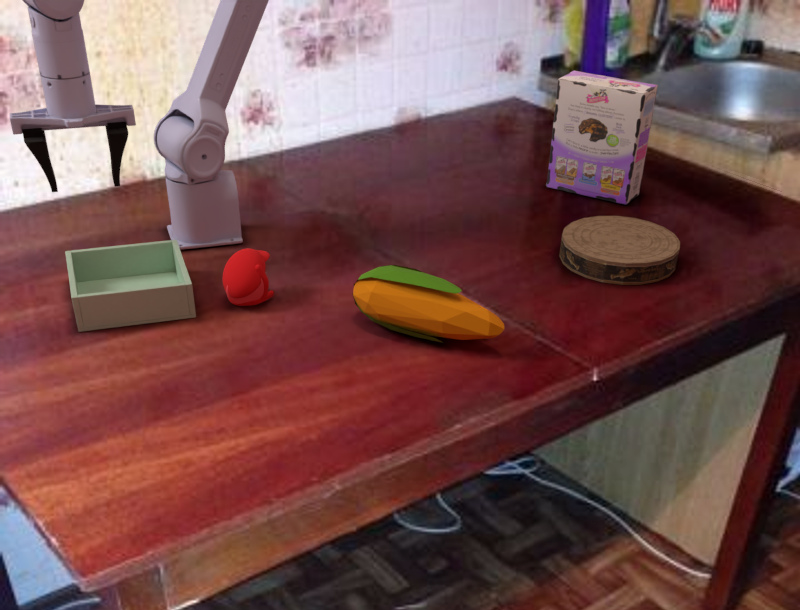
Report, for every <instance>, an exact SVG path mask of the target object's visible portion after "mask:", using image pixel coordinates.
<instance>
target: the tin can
mask: <svg viewBox="0 0 800 610" xmlns="http://www.w3.org/2000/svg"><path fill="white" fill-rule="evenodd" d="M560 239H561V240H560V246H559V255H558V257H559V258H560V261H561V263H562V265H564V266H565V267H566V268H567V269H568V270H570V271H571V272H573V273H575V274H577V275H579V276H581V277H583V278H585V279H589V280H592V281H596V282H600V283H603V284H613V285H619V286H632V285H633V286H641V285H647V284H652V283H657V282H660V281H662V280H665V279H667V278H669V277H670V276H672V274H673V273H674V272H675V271H676V268H677V262H678V258H679V253H680V250H681V249H680V248H681V241H680V240H679V238H678V236H677V235H676V234H675V233H674V232H672V231H671V230H669V229H668V228H666V227H665V226H662V225H659V224H657V223H654V222H652V221H649V220H645V219H641V218H637V217H632V216H631V217H630V216H622V215H596V216H589V217H588V216H587V217H583V218H580V219H577V220H573V221H572V222H570V223H568V224H567V225H566V226H565V227H564V228H563V230H562V233H561V238H560Z"/></svg>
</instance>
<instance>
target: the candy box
mask: <svg viewBox="0 0 800 610" xmlns="http://www.w3.org/2000/svg"><path fill="white" fill-rule="evenodd" d="M556 85H557V86H556V87H557V88H556V96H555V97H556V98H555V107H554V115H553V122H552V132H551V133H552V134H551V142H550V152H549V162H548V168H547V169H548V170H547V178H546V184H545V186H546V188H550V189H554V190H558V191H564V192H567V193H572V194H577V195H580V196H585V197H589V198H595V199H598V200H602V201H607V202H612V203H616V204H620V205H621V204H622V205H625V206H626V205H628V204H629V203H630V202H632V200H634V199H635V198H637V197H639V195H640V191H641V185H642V180H643V173H644V168H645V162H646V156H647V151H648V145H649V139H650V133H651V127H652V123H653V122H652V121H653V116H654V109H655V104H656V98H657V93H658V87H659V85H658V84H654V83H648V82H643V81H642V82H641V81H635V80H630V79H624V78H618V77H613V76H608V75H607V76H606V75H602V74H596V73H589V72H585V71H578V70H572V71H569V72H568V73H566V74H564V75H563V76H561V77H559V78H558V79H557V84H556Z"/></svg>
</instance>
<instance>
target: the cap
mask: <svg viewBox="0 0 800 610" xmlns="http://www.w3.org/2000/svg"><path fill="white" fill-rule="evenodd" d="M270 257H271V254H270V253H269V252H268V251H266V250H261V249H254V248H249V247H248V248H247V247H246V248H243V249H240V250H238V251H236V252H235V253H233V254H232V255H231V256H230V258H229V259H228V260H227V261H226V264H225V265H224V268H223V272H222V286H223V289H224V291H225V294H226V297H227V300H228V301H229V302H230V303H231V304H232V305H234V306H237V307H248V306H256V305H260V304H261V303H264V302H266V301H268V300H269V299H272V298H273V297H274V296H275V291H274V290H273V289H271V290H269V288H270V281H269V278H268V275H267V273H266V270H267V264H266V262H267V261H268V260H269V259H270Z"/></svg>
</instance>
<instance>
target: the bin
mask: <svg viewBox="0 0 800 610" xmlns="http://www.w3.org/2000/svg"><path fill="white" fill-rule="evenodd" d="M64 254H65V262H66V268H67V275H68V281H69V282H68V283H69V289H70V297H71V302H72V308H73V312H74V317H75V321H76V322H75V323H76V326H77V331H78V333H82V332H90V331H99V330H105V329H114V328H121V327H122V328H123V327H129V326H130V327H131V326H138V325H146V324H147V325H148V324H154V323H161V322H170V321H179V320H187V319H193V318H194V319H195V318H197V311H196V303H195V295H194V289H193V282H192V279H191V277H190V274H189V270H188V268H187V266H186V263H185V262H186V261H185V260H184V257H183V254H182V250H180V248H179V245H178V242H177V240H171V239H168V240H159V241H148V242H140V243H130V244H120V245H112V246H111V245H110V246H102V247H101V246H100V247H91V248H82V249H71V250H65V251H64Z"/></svg>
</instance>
